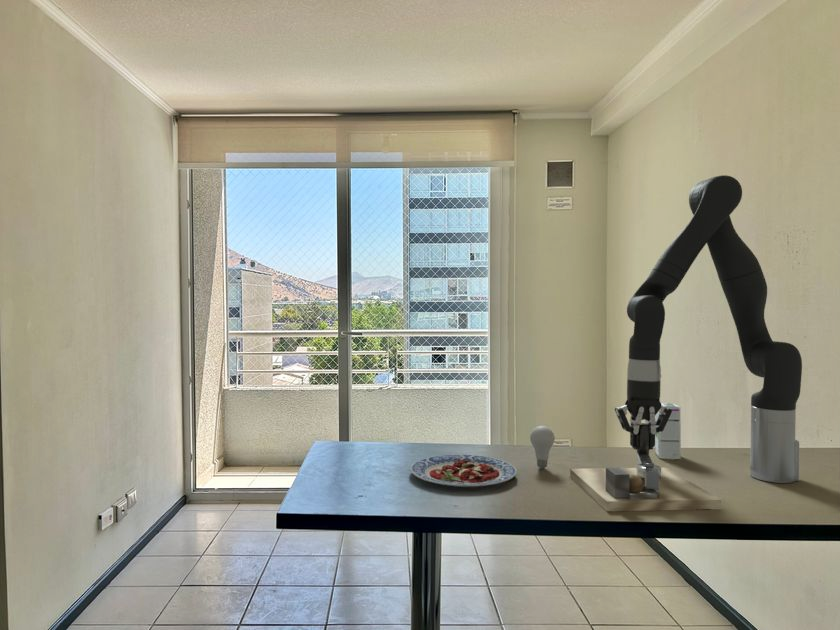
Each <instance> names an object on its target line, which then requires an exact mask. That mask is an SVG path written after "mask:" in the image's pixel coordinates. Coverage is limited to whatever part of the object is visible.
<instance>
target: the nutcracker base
mask: <svg viewBox="0 0 840 630" xmlns="http://www.w3.org/2000/svg"><path fill="white" fill-rule="evenodd" d="M569 470H570V471H569V478H571V479H572V480H573V481H574V482H575V483H576V484H577V485H578V486H579V487H580V488H581V489H582V490H583V491H584V492H585V493H586V494H587V495H589V496H590V497H591V498H592V499H593V500H594V501H595V502H596V503H597V504H598V505H600V507H601V508H603V509H604V510H605V512H637V511H638V512H639V511H640V512H643V511H644V512H645V511H647V512H648V511H652V512H653V511H695V510H696V509H711V510H722V499H721V498H720V497H718V496H716V495H714V494H713V493H711V492H709V491H708V490H705V489H704V488H702V487H700V486H699V485H697V484H696V483H693V482H692V481H690V480H689V479H687V478H685V477H684V476H682V475H680V474H678V473H677V472H675V471H672V469H669V468H668V467H661V478H660V479H659V490H655V489H646V487H645V479H644V478H641V477H640V478H641V480H642V481H643V489H642V491H641V492H640V493H629V475H637V467H601V468H600V467H597V468H596V467H595V468H593V467H592V468H591V467H589V468H570V469H569ZM690 509H692V510H690Z"/></svg>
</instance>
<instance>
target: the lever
mask: <svg viewBox="0 0 840 630" xmlns="http://www.w3.org/2000/svg"><path fill="white" fill-rule="evenodd" d="M649 429H650V425H649V424H646V423H645V422H641V425H640V426H639V431H638V434H639V449H638V450H636V453H637V455H636V456H637V461H638V464H637V465H636V468H637V476H638V477H641V478H644V479H645V487H646V489H655V490H659V479H660V478H661V468H662V467H661V466H659V465H657V464H655V463H654V462H653V461H652V458H651V456H650V450H649Z"/></svg>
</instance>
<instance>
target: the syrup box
mask: <svg viewBox="0 0 840 630" xmlns="http://www.w3.org/2000/svg"><path fill="white" fill-rule="evenodd" d="M661 405H662V406H663V407H666V408H669V409H671V410H672V413H671V415H670V417H669V419H668V421H667V424H666V426H665V428H664V430H663V431H662V432H657V433H656V434H655V446H654V453H655V455H656V456H657V458H659V459H662V460H674V459H680V460H682V458H681V456H682V454H681V453H682V452H681V450H682V449H681V447H682V445H681V444H682V442H681V441H682V438H681V437H682V435H681V434H682V432H681V427H682V426H681V407H680V406H679V405H677V404H676V403H671V402H661ZM659 415H660V414H659V411H658V413H657V414H656V415H655V420H656V421H657V419H658V417H659Z"/></svg>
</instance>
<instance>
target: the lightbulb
mask: <svg viewBox="0 0 840 630" xmlns="http://www.w3.org/2000/svg"><path fill="white" fill-rule="evenodd" d="M555 439H556V438H555V433H554V432H553V430H552V429H551V428H549V427H548V426H546V425H537V426H536V427H534V428H533V429H532V431H531V432H530V436H529V440H530V443H531V445H532V447H533V449H534V452H535V458H536V466H537V467H538V468H539V469H541V470H544V469H545V468H547V467H548V460H549V455H550V451H551V449H552V447H553V446H554V443H555Z"/></svg>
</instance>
